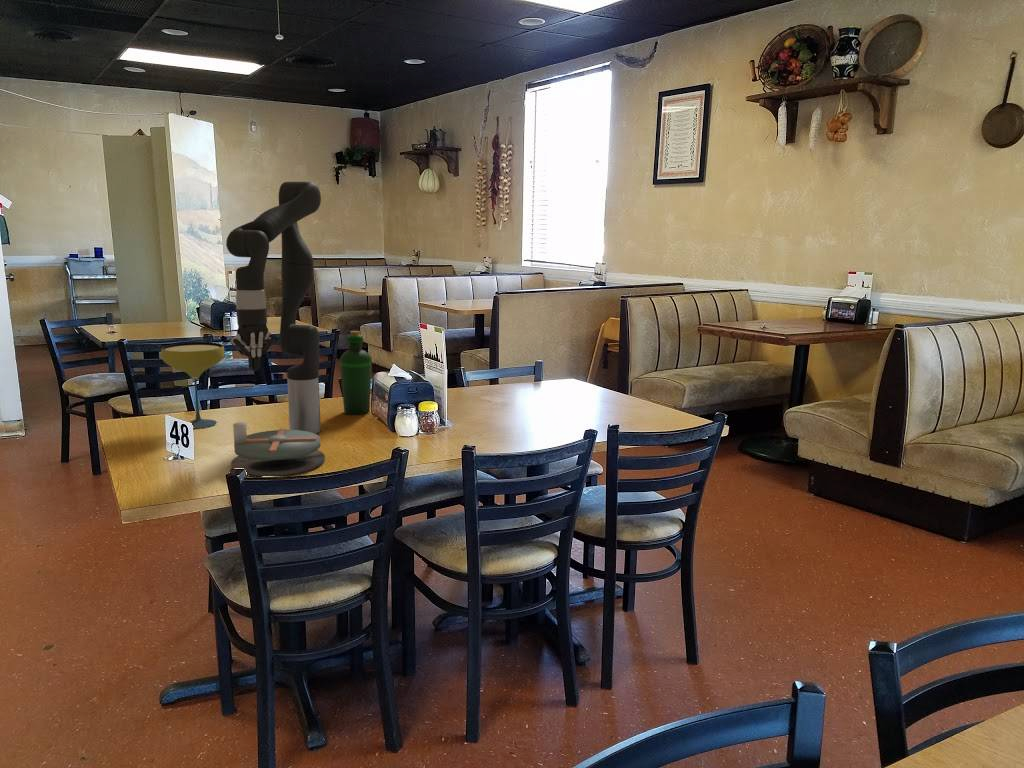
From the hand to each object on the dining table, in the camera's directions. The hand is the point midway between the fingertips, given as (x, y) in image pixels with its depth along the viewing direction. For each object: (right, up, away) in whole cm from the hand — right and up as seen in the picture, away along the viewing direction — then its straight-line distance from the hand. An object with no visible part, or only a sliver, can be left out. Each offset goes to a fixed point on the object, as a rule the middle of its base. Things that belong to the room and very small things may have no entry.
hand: (254, 370), depth 198 cm
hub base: (+7, -25, -1) cm, 26 cm away
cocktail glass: (-30, -17, +34) cm, 49 cm away
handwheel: (+7, -21, -2) cm, 22 cm away
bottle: (+16, -14, +53) cm, 57 cm away
